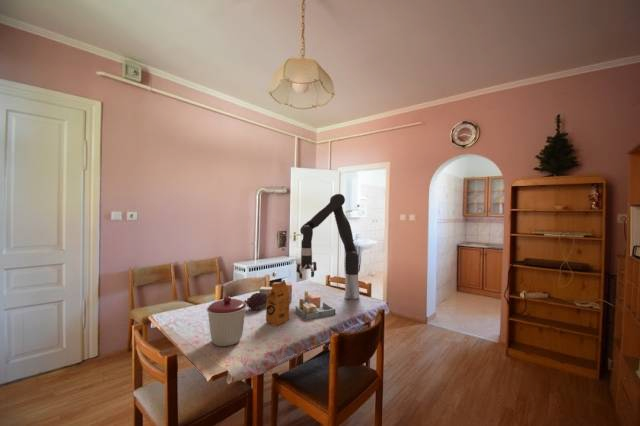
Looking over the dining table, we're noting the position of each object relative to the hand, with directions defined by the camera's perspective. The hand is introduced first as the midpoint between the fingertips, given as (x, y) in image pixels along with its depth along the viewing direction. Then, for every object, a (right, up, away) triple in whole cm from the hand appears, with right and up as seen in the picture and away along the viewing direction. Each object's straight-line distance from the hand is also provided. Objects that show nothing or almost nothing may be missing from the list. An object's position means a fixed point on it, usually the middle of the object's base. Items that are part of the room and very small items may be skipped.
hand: (306, 277), depth 190 cm
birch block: (+1, -16, -23) cm, 28 cm away
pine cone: (-30, -16, -17) cm, 38 cm away
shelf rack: (+6, -16, -23) cm, 29 cm away
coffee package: (-15, -16, -36) cm, 42 cm away
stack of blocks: (-21, -16, -3) cm, 26 cm away
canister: (-35, -16, -60) cm, 71 cm away
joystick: (+3, -16, -6) cm, 17 cm away
